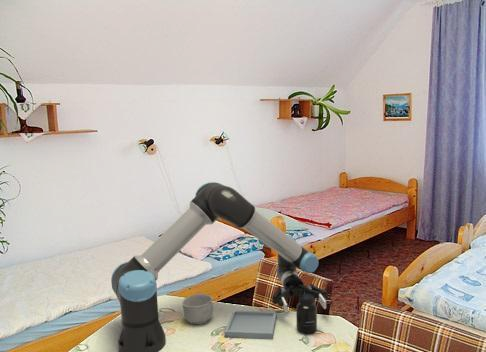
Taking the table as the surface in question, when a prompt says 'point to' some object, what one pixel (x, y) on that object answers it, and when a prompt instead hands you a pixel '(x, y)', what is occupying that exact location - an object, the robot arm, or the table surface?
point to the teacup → (198, 308)
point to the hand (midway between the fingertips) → (305, 306)
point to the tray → (251, 324)
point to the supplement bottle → (306, 315)
